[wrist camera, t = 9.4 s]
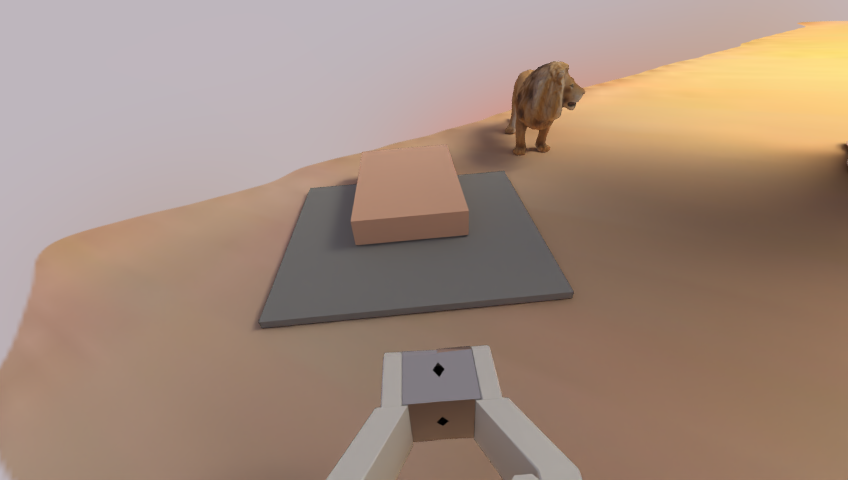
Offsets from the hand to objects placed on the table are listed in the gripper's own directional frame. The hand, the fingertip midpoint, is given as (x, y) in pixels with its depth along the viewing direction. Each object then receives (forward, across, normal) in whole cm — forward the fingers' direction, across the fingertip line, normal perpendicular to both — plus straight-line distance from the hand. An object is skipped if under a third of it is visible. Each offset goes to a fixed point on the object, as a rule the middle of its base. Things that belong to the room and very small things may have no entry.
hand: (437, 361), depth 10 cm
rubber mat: (+16, +1, +6) cm, 17 cm away
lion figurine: (+32, -13, +6) cm, 35 cm away
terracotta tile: (+14, +1, +4) cm, 15 cm away
